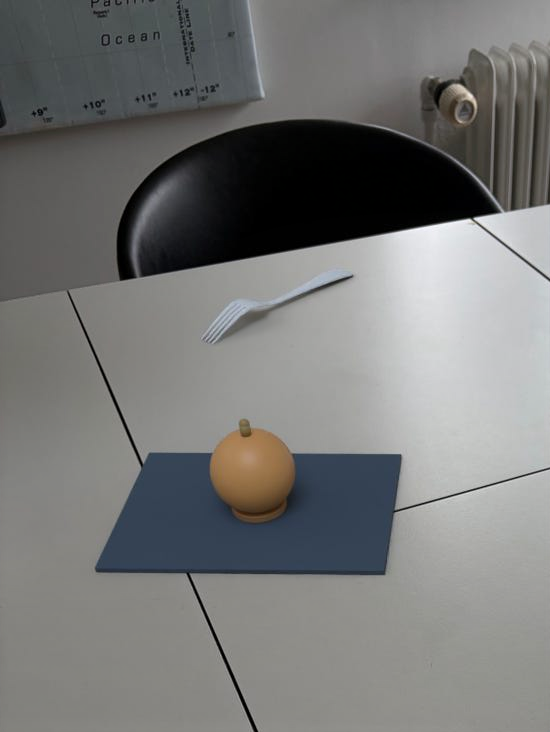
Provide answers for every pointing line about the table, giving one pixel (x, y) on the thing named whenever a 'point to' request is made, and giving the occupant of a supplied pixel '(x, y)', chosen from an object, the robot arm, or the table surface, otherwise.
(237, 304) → the fork
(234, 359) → the table surface
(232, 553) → the mat
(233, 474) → the orange ball with stem
